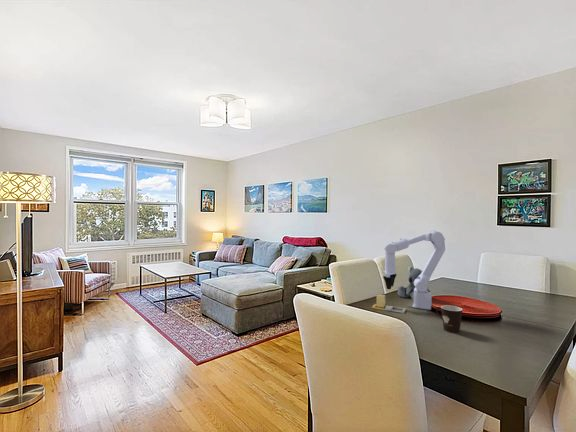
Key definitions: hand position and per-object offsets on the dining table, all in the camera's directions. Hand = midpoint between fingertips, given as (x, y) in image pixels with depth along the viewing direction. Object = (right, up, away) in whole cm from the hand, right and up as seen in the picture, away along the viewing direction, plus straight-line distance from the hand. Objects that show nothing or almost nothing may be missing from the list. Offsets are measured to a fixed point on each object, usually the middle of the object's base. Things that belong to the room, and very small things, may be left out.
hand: (390, 287), depth 177 cm
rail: (-3, -10, -8) cm, 13 cm away
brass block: (-7, -10, -6) cm, 14 cm away
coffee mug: (+15, -10, -38) cm, 42 cm away
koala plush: (+22, -10, +14) cm, 28 cm away
